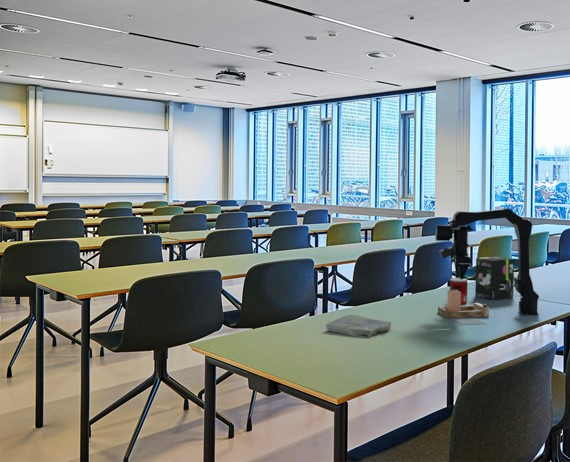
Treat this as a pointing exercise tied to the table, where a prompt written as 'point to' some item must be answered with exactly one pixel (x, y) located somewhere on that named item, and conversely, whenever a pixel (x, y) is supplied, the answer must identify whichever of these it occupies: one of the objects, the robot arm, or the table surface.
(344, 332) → the fossil
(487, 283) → the box
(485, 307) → the gate
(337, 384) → the table surface
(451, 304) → the block
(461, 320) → the mat
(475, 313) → the tray
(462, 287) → the canned food
